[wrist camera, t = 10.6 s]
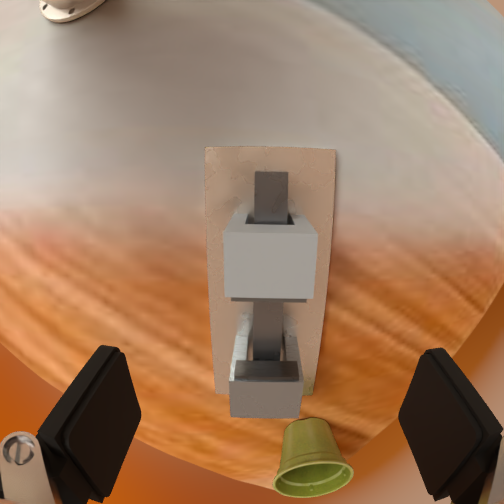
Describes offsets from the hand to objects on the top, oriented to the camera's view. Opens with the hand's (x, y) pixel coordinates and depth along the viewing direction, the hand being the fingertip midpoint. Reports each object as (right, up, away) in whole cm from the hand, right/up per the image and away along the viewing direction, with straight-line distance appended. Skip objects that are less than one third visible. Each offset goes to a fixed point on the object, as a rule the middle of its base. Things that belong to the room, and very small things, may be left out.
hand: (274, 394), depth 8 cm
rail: (+1, +1, +20) cm, 21 cm away
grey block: (+1, +5, +18) cm, 19 cm away
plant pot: (+7, -19, +27) cm, 34 cm away
